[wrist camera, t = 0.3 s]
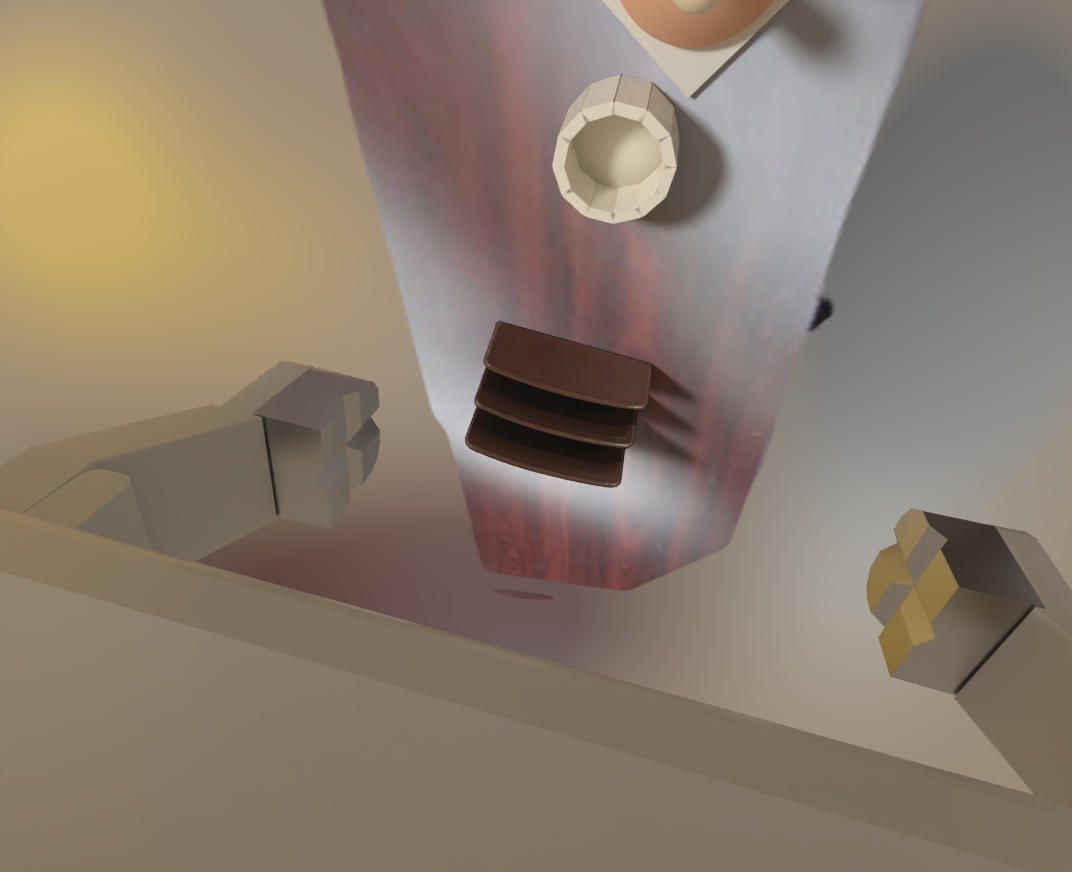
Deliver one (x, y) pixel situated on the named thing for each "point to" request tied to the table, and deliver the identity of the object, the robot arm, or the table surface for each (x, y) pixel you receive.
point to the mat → (692, 49)
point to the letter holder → (557, 406)
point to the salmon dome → (694, 19)
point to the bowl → (617, 149)
